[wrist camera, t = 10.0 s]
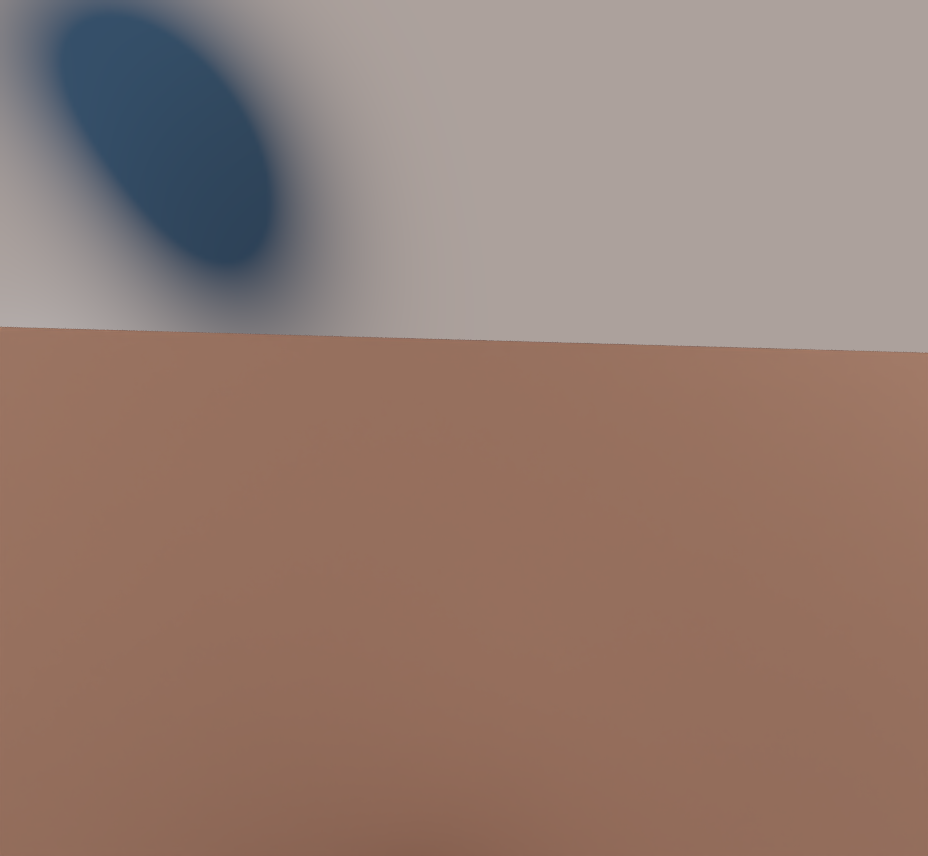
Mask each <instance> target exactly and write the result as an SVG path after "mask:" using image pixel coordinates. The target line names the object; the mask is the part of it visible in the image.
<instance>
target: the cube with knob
mask: <svg viewBox="0 0 928 856" xmlns="http://www.w3.org/2000/svg"><path fill="white" fill-rule="evenodd" d="M0 856H928V353H916V352H878V351H843V350H807V349H771V348H737V347H735V348H734V347H700V346H664V345H662V346H661V345H629V344H628V345H627V344H626V345H625V344H593V343H558V342H557V343H556V342H555V343H554V342H521V341H519V342H518V341H486V340H449V339H448V340H447V339H414V338H378V337H377V338H376V337H342V336H340V337H339V336H307V335H306V336H305V335H270V334H233V333H199V332H162V331H127V330H91V329H55V328H20V327H19V328H18V327H17V328H16V327H0Z"/></svg>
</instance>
